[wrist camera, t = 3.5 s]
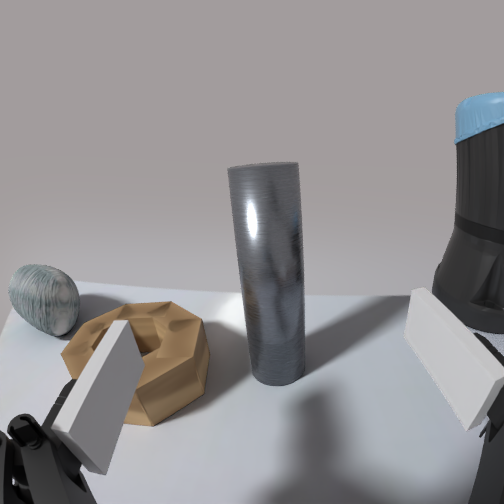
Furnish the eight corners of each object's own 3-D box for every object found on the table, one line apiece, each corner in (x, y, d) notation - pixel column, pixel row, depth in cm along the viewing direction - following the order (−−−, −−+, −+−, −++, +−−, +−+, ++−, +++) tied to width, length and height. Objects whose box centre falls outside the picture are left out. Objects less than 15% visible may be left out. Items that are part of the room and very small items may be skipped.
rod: (300, 348, 25) (292, 161, 20) (308, 382, 21) (304, 164, 16) (251, 353, 25) (229, 166, 20) (252, 388, 21) (224, 171, 16)
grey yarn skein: (-3, 306, 30) (5, 241, 29) (47, 308, 38) (58, 249, 38) (26, 362, 24) (33, 282, 23) (88, 355, 32) (102, 286, 32)
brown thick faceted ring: (213, 332, 29) (206, 298, 28) (199, 428, 18) (185, 392, 16) (109, 335, 29) (97, 305, 28) (64, 414, 18) (41, 379, 17)
